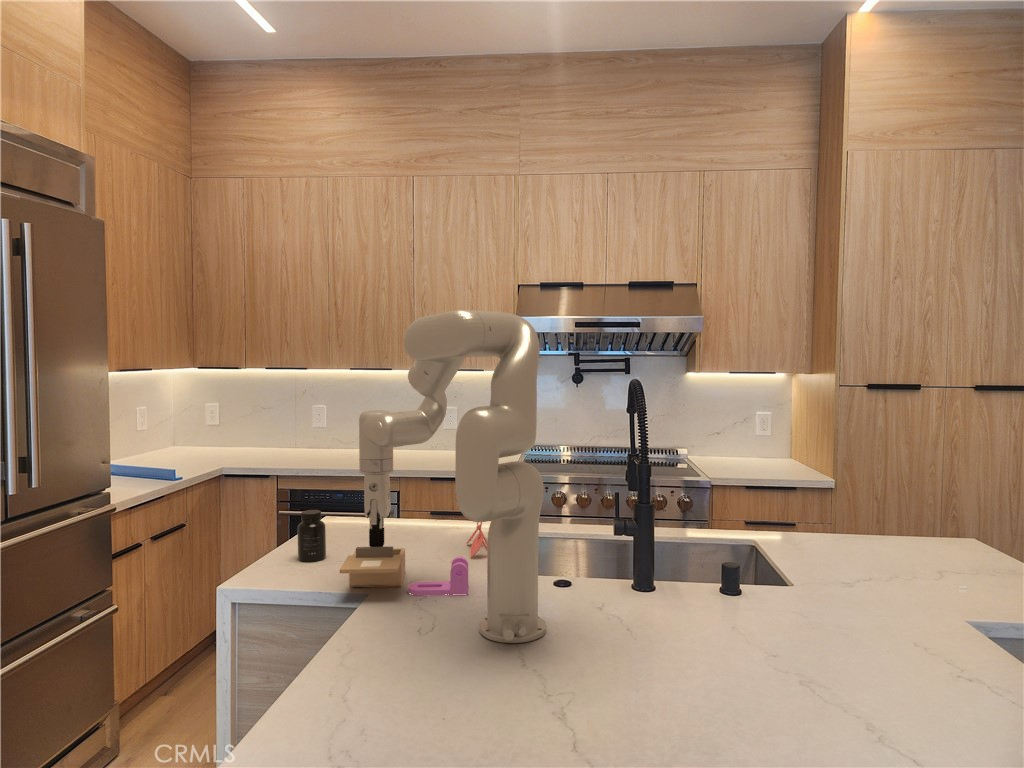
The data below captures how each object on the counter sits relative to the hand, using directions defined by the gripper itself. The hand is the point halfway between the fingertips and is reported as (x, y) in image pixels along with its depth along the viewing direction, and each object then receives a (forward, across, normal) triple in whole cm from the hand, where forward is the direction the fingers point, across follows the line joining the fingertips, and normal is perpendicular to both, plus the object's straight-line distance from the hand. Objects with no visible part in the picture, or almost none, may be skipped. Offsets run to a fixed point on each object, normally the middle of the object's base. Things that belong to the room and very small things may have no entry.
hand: (376, 545), depth 156 cm
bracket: (+9, -7, -14) cm, 18 cm away
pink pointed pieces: (+8, +22, -20) cm, 31 cm away
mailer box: (+8, +1, 0) cm, 8 cm away
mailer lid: (+2, -8, 0) cm, 9 cm away
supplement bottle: (+9, +19, +19) cm, 28 cm away
